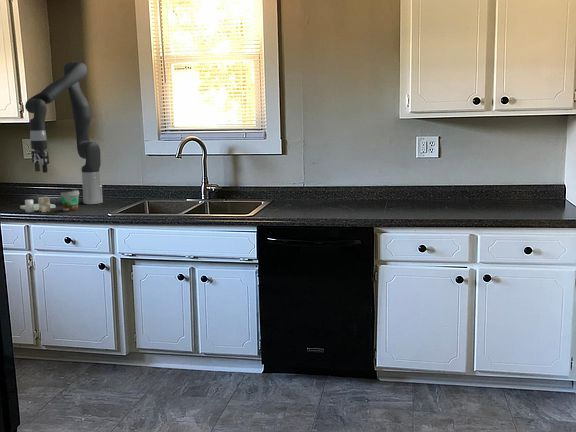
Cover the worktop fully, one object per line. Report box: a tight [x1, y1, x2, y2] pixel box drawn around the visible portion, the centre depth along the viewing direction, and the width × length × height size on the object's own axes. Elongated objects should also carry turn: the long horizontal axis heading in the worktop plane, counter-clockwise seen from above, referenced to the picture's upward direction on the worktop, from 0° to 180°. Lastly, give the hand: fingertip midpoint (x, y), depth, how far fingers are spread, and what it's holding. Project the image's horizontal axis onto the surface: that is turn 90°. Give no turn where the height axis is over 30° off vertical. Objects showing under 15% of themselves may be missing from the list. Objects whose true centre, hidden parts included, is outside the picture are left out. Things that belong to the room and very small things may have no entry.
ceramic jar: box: [24, 199, 35, 213], centre depth 335 cm, size 4×4×6 cm
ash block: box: [37, 196, 51, 213], centre depth 336 cm, size 4×4×7 cm
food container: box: [60, 189, 80, 213], centre depth 337 cm, size 12×6×10 cm, turn 168°
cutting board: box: [19, 203, 57, 211], centre depth 346 cm, size 14×11×2 cm
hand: (41, 171), depth 333 cm, fingers open, 8 cm apart
